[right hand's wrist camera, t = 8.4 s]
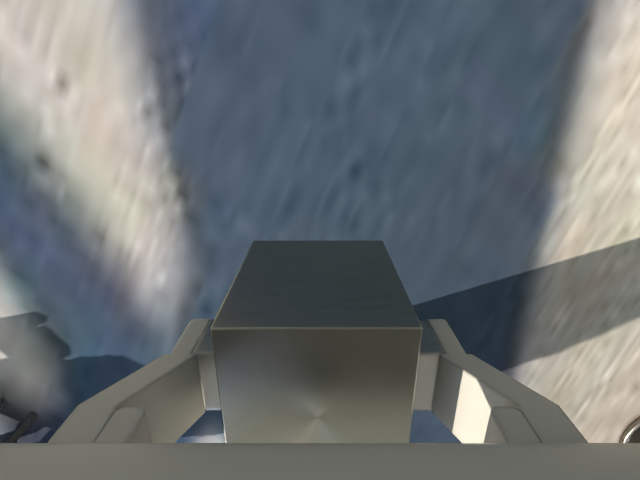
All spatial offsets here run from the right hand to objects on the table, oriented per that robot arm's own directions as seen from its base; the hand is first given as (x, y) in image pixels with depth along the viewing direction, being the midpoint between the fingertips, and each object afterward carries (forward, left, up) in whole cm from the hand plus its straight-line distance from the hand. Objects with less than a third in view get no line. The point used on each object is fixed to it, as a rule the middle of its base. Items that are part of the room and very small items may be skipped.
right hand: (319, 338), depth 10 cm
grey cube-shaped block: (0, 0, -2) cm, 2 cm away
